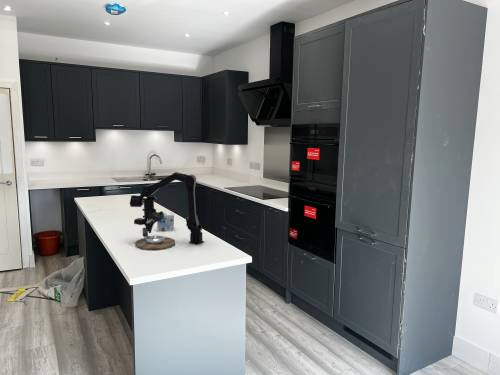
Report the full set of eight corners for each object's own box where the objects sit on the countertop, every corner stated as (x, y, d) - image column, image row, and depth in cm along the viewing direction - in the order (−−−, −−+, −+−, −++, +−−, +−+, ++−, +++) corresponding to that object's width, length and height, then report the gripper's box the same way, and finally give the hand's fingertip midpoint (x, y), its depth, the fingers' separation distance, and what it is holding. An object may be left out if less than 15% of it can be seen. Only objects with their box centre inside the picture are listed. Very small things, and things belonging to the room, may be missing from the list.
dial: (168, 240, 218) (168, 229, 217) (155, 245, 209) (155, 233, 208) (149, 236, 225) (149, 226, 224) (136, 240, 216) (136, 229, 215)
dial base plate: (182, 243, 221) (182, 240, 220) (156, 252, 201) (156, 249, 201) (154, 237, 231) (154, 234, 231) (126, 246, 212) (126, 243, 212)
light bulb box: (157, 231, 244) (157, 215, 242) (157, 229, 250) (156, 213, 249) (174, 230, 247) (174, 214, 245) (173, 228, 253) (173, 212, 252)
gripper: (147, 212, 208) (148, 239, 211) (170, 205, 224) (171, 231, 227) (132, 209, 214) (133, 236, 216) (156, 203, 229) (157, 228, 232)
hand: (149, 233), depth 223 cm, fingers closed
